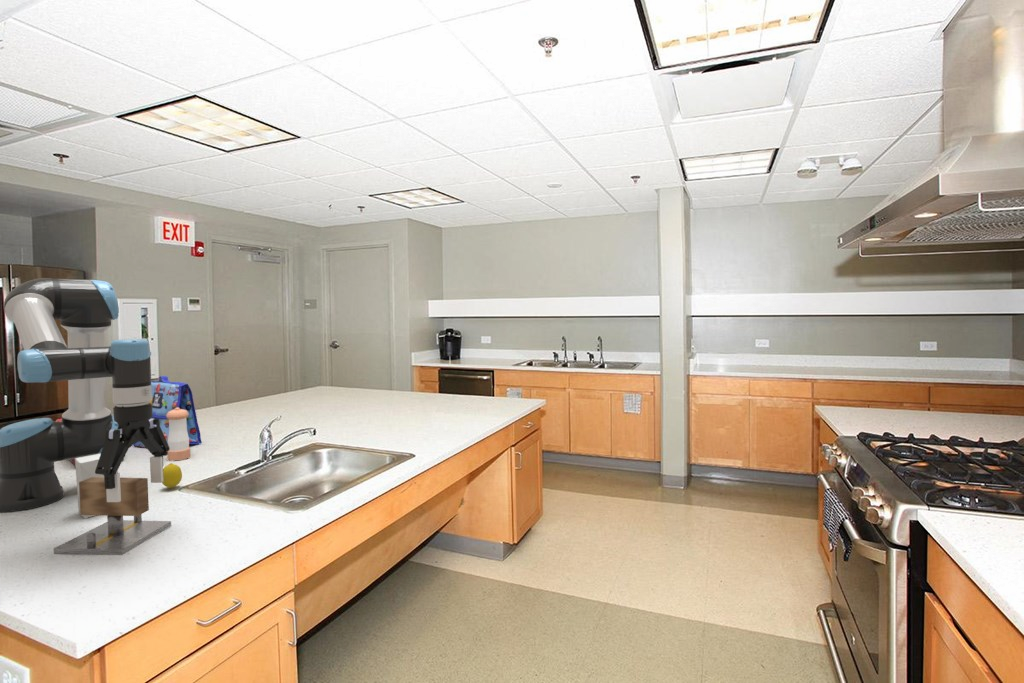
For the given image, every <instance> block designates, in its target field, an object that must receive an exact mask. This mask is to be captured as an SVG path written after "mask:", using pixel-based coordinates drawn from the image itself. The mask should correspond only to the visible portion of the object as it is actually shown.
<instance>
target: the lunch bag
mask: <svg viewBox="0 0 1024 683" xmlns="http://www.w3.org/2000/svg"><path fill="white" fill-rule="evenodd" d="M151 393H152V400H151V401H150V402H149V403H151V404H152V410H153V417H152V418H151V419H159V422H160V428H161V430H162V432H163V434H164V436H165V439H166V441H167V443H168V436H169V419H167V417H166V415H167V413H168V412H169V411H171V410H175V408H180V409H184V410H187V412H188V413H189V415H188V417H187V418H186V422H187V432H188V437H189V445H200V444H199V443H201V444H202V438H201V436H202V435H201V430H200V426H199V423H198V416H197V412H196V408H195V403H194V395H193V392H192V389H191V387H190V385H189V384H188V383H187V382H186V383H185V382H179V381H177V382H175V381H170V380H169V377H168V375H159V376H158V380H156V381H155V380H151ZM132 447H139V448H145V446H144V445H143V443H142V442H137V443H135V444H133V445H132ZM162 447H163V446H162Z"/></svg>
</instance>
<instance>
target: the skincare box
mask: <svg viewBox="0 0 1024 683" xmlns="http://www.w3.org/2000/svg"><path fill="white" fill-rule="evenodd" d="M100 455H101V454H95V455H90V456H85V457H79V458H75V465H76V466H75V465H74V466H75V476H76V492H77V508H78V513H80V492H79V482H81V481H83V480H86V479H89V478H91V477H104V475H103V474H96V473H95V470H96V467H97V464H98V461H99V458H100ZM102 469H103V468H102ZM111 469H112V468H111ZM116 473H119V469H118V470H117V472H116ZM92 516H93V517H96V515H82V516H81V517H82V518H83V519H84V518H85V519H89V518H92ZM88 517H89V518H88Z"/></svg>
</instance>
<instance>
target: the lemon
mask: <svg viewBox="0 0 1024 683" xmlns="http://www.w3.org/2000/svg"><path fill="white" fill-rule="evenodd" d="M182 479H183V472H182V469H181V467H180V466H179V465H178V464H175V463H172V462H171V463H169V464H167V465H166V466H163V482H162V483H161V484H162V485H163V486H164V487H167V488H169V489H174V488H175V487H177V486H178V485H179V484H180V482H181V481H182Z"/></svg>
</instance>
